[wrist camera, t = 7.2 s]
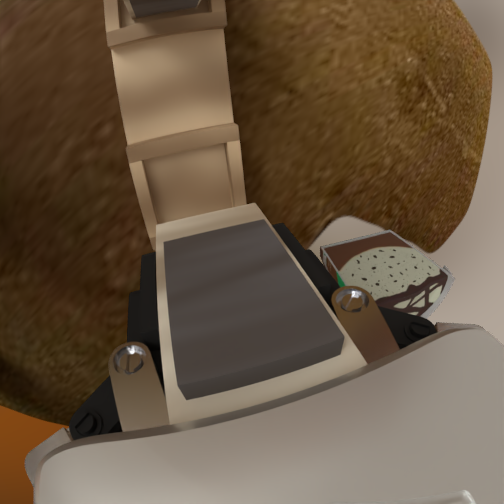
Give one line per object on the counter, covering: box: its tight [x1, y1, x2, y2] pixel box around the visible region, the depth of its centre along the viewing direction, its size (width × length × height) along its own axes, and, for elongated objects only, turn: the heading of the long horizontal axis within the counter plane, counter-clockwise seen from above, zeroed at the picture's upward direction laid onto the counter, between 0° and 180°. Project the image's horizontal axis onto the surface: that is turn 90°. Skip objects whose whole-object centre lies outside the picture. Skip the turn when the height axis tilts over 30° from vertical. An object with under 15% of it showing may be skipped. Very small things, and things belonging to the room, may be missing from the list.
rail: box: [104, 0, 247, 250], centre depth 13 cm, size 26×7×10 cm, turn 5°
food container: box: [320, 230, 455, 319], centre depth 28 cm, size 12×6×10 cm, turn 94°
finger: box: [156, 203, 368, 425], centre depth 9 cm, size 5×4×8 cm
